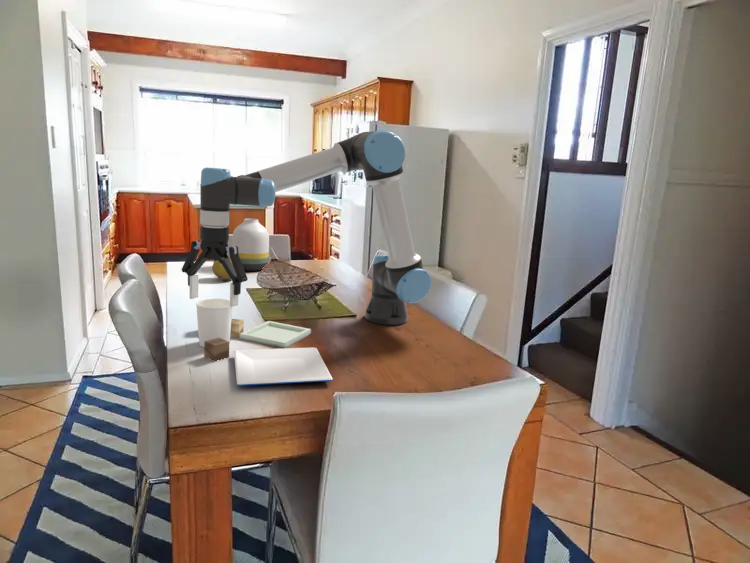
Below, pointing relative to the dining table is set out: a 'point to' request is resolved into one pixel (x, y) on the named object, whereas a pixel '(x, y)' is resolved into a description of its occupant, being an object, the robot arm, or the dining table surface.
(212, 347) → the walnut block
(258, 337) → the tray
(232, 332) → the oak block
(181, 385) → the dining table surface
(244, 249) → the vase
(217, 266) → the fruit
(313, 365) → the plate
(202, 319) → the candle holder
